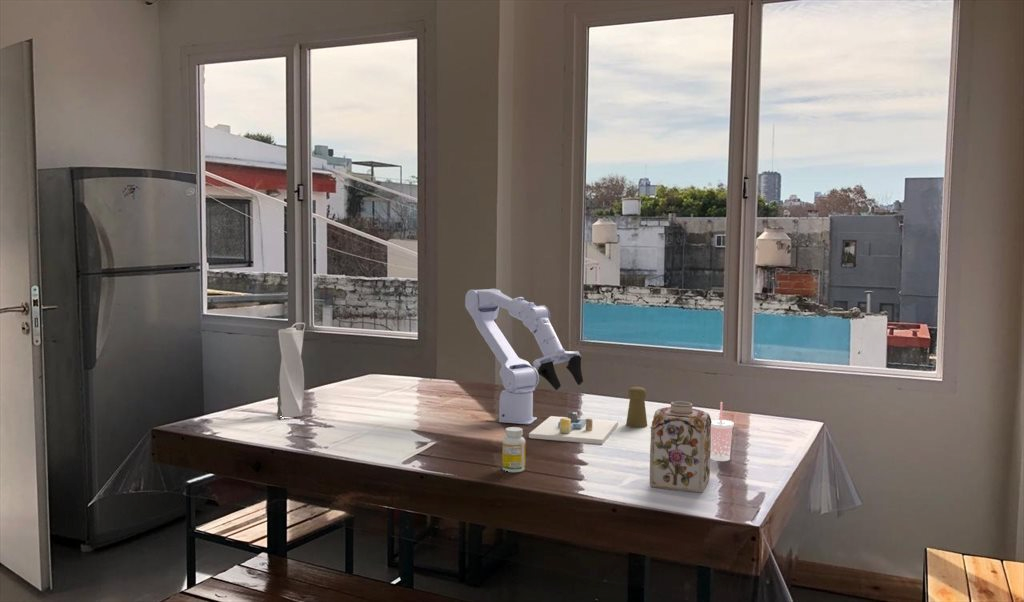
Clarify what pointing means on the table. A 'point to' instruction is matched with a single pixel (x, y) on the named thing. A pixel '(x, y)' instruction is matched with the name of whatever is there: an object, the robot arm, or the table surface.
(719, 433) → the beverage cup
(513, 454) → the supplement bottle
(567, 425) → the square ring with handle
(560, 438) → the base plate
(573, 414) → the post
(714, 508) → the table surface
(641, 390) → the cork
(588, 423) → the dowel
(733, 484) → the table surface
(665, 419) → the decorative jar
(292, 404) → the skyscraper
